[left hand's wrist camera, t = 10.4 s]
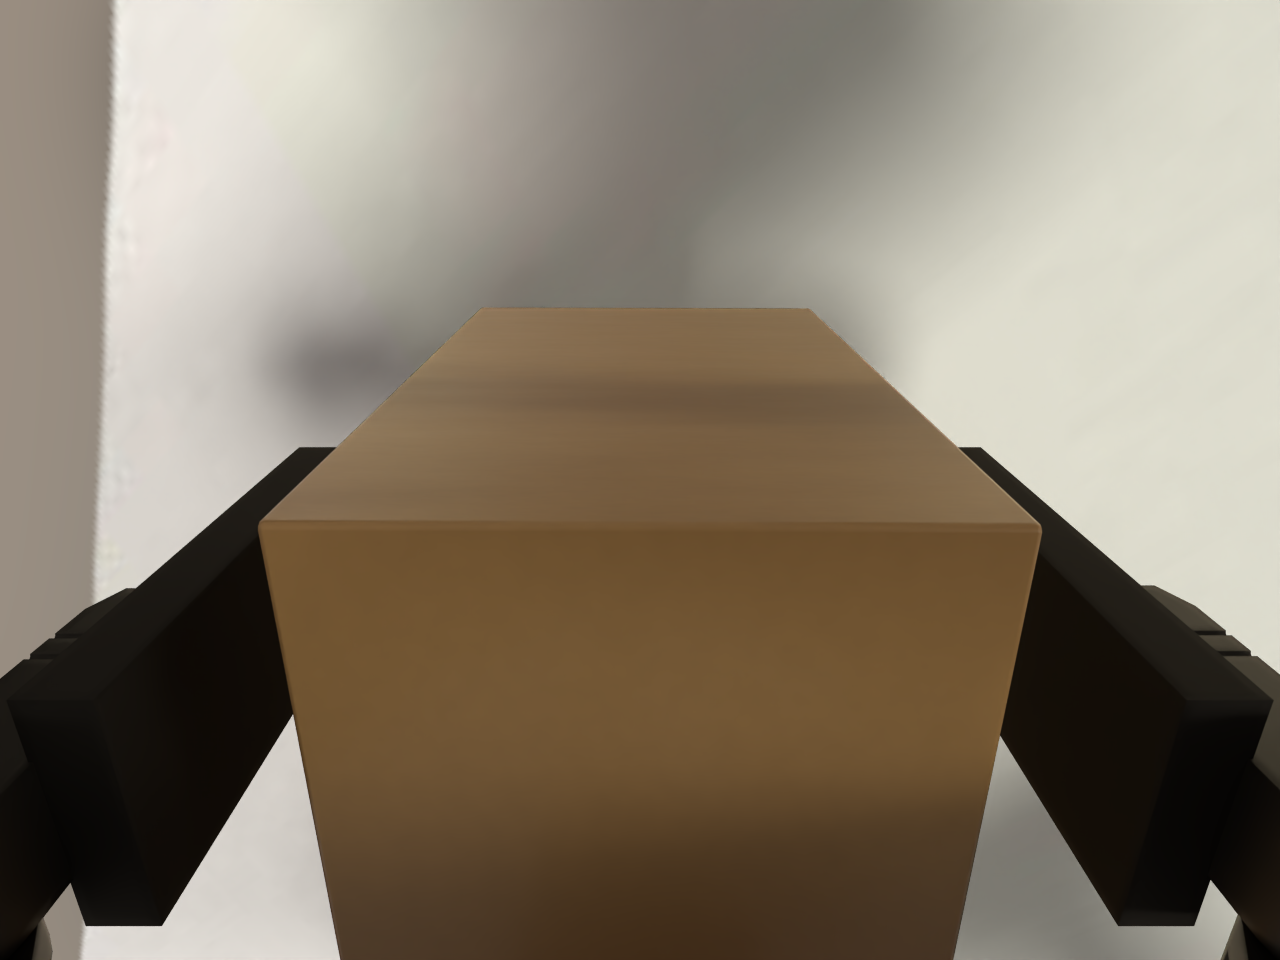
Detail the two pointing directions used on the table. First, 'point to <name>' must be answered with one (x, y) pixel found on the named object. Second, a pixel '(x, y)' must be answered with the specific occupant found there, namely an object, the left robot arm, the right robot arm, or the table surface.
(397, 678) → the bar
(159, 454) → the table surface
